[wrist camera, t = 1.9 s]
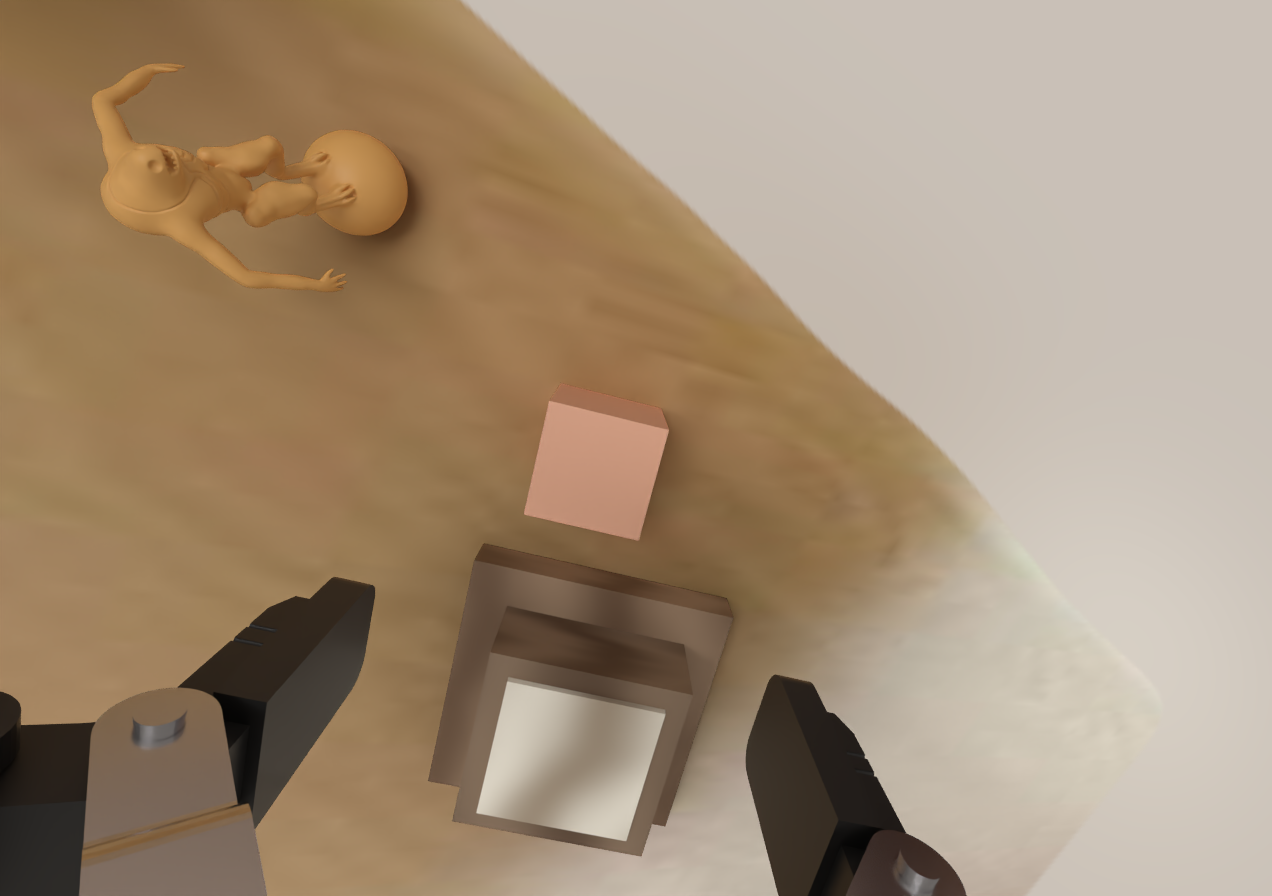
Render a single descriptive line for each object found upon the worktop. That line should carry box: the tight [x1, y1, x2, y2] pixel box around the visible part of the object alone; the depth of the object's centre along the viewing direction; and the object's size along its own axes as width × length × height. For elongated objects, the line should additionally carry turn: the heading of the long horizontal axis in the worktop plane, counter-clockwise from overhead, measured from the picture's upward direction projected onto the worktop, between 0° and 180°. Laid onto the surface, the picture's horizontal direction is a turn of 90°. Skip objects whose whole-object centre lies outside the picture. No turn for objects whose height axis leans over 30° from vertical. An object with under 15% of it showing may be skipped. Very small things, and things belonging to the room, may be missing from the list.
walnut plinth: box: [428, 544, 733, 856], centre depth 30 cm, size 13×13×6 cm
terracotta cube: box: [524, 383, 669, 541], centre depth 28 cm, size 5×5×5 cm
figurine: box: [92, 63, 408, 292], centre depth 21 cm, size 8×6×12 cm
